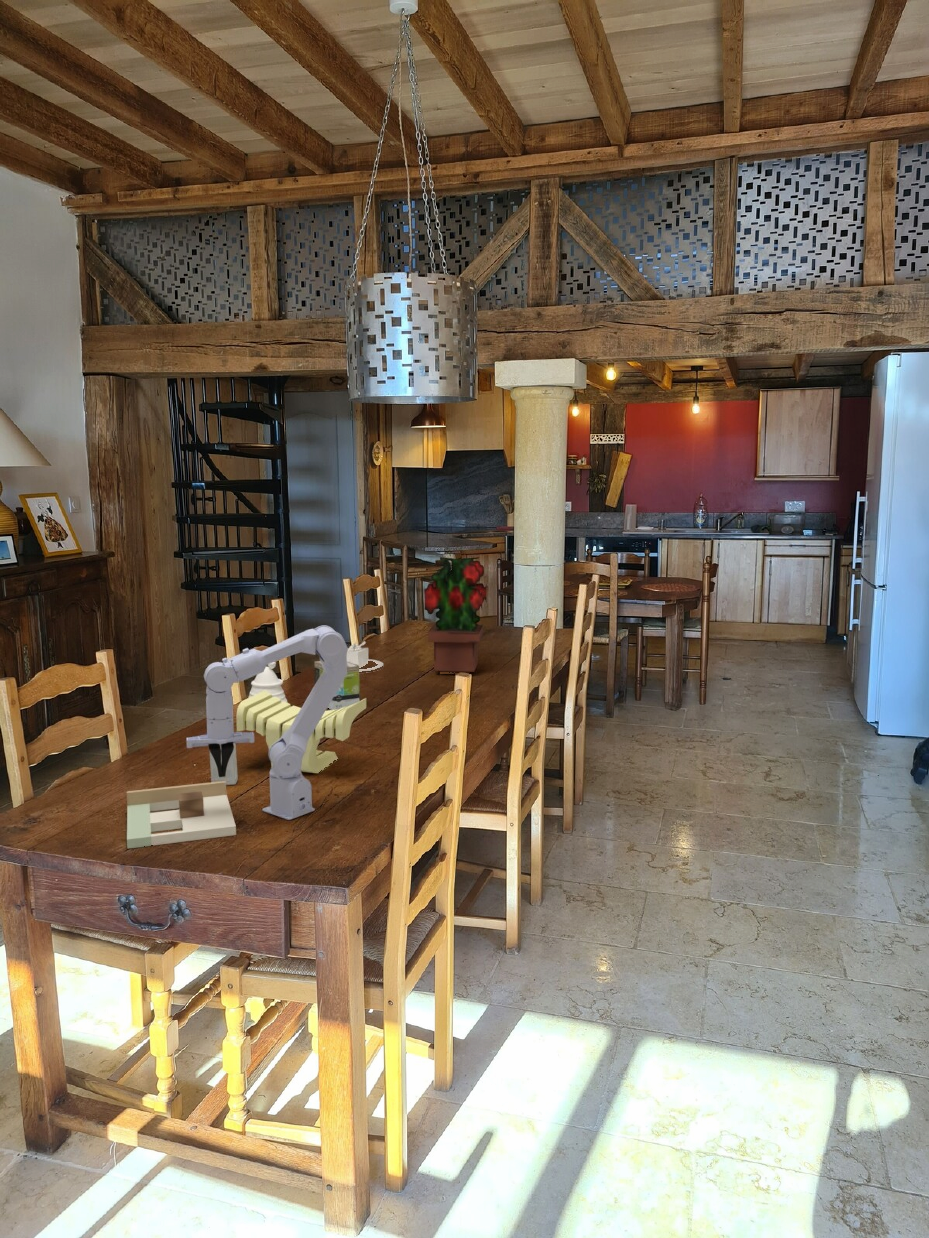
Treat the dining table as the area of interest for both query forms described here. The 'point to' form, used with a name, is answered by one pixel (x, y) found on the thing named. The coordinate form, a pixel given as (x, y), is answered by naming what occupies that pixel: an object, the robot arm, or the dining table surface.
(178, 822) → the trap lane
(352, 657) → the white block with ring
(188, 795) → the walnut block
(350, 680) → the tea box
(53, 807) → the dining table surface
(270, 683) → the honey pot
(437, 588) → the potted plant
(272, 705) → the slatted curved stool
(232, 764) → the skincare box
